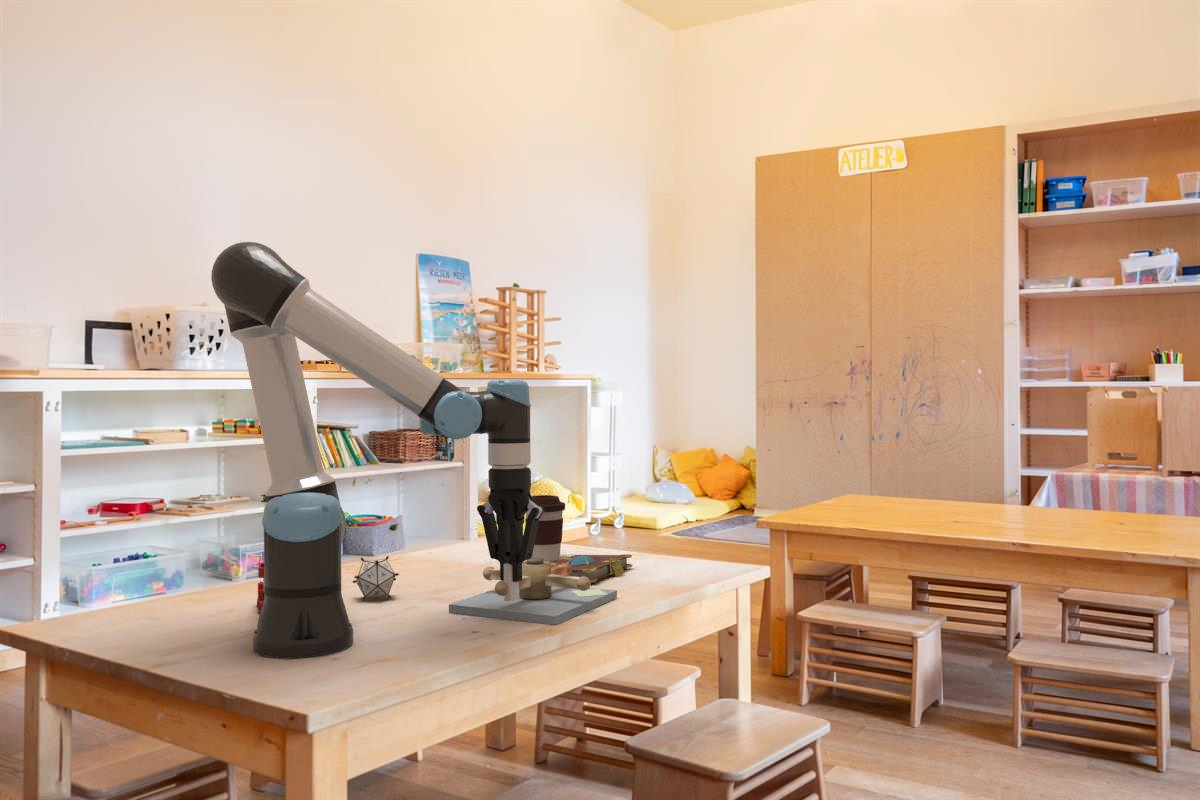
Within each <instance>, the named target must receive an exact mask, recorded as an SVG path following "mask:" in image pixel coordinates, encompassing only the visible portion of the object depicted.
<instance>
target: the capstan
mask: <svg viewBox="0 0 1200 800" xmlns="http://www.w3.org/2000/svg"><path fill="white" fill-rule="evenodd" d="M551 563H552V562H548V561H544V559H543V558H531V559H528V560H525V561H523V563H522V580H521V581H519V596H520V597H521V598H526V599H542V598H548V597H550V596H552V587H551V586H554V587H563V588H572V589H579V590H581V591H586V590H588V589H589V588H591V584H592V583H591V582H590V579H589V578H588V577H585V576H582V577H574V576H568V575H570V574H571V572H572V566H571V565H570V564H569V563H562V564H561V565H558V566H554V567H551ZM482 576H483V578H484V579H485V580H486V581H498V582H497V583H496V584H495V585H494V589H495V592H496V593H497V594H498V595H500V596H504V595H506V594H507V592H508V586H507V584H506V583H505V582H504V581H501V578H500V568H497V567H493V566H487V567H485V568H484V569H483V572H482Z"/></svg>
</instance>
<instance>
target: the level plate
mask: <svg viewBox="0 0 1200 800" xmlns="http://www.w3.org/2000/svg"><path fill="white" fill-rule="evenodd" d="M551 587H552V596H550V597H548V598H542V599H526V598H521V597H520V596H519V599H516V600H513V601H504V596H500V595H498V594H497V593H496V592H495V588H493V589H491V590H487V591H485V592H481V593H478V594H476V595H473V596H470V597H467V598H464V599H461V600H458V601H455V602H452V603H449V604H448V613H449V614H458V615H467V616H473V617H474V616H475V617H481V618H482V617H485V618H490V619H491V618H493V619H500V620H501V619H502V620H509V621H518V622H525V623H526V622H527V623H535V624H544V625H550V626H551V625H553V626H556V625H559V624H561V623H563V622H565V621H568V620H570V619H572V618H575V617H578V616H579V615H581V614H583V613H586V612H588V611H591V610H593V609H595V608H598V607H600V606H602V605H604V604H607V603H609V602H611V601H614V600H616V599H617V598H618V590H615V589H608V588H607V589H606V588H605V589H604V588H597V587H596V588H595V587H590V588H589V589H588V590H586V591H581V590H579V589H572V588H563V587H554V586H551Z"/></svg>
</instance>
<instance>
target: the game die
mask: <svg viewBox="0 0 1200 800" xmlns="http://www.w3.org/2000/svg"><path fill="white" fill-rule="evenodd" d="M389 559H390V558H389V555H387V556H386V557H385V558H384V559H366V560H365V559H364V557H362V556H360V560H361V561H362V563H361V565H360V569H359V571H358V574H357V575H354V579H356V580H352V583H353V584H356V585H357V586H358V588H359V591H360V592H361V593H362V595H363V597H362V599H361V600H362V602H363V601H365V600H366V598H375V597H377V598H378V597H387V599H388V600H391V595H390V592H391V589H392V587H393V583H394V582H396V581H397V578H396V577H397V576H399V575H400V573H399V572H396V573H395V571H394V569H393V567H392V566H391V565H390V563H389V561H388V560H389Z"/></svg>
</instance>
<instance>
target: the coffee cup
mask: <svg viewBox="0 0 1200 800" xmlns="http://www.w3.org/2000/svg"><path fill="white" fill-rule="evenodd" d="M531 496H532V502H533V503H535V504H536V505H537V506H538V507H541V506H542V507H543V508H544V512H543V514H542V516H541V518H540V519H539V524H538V529H537V534H536V539H535V544H534V549H533V554H532V558H543V559H544V561H548V562H551V563H553V562H556V561H559V558H560V557H561V547H562V546H561V545H562V541H563V528H564V525H563V524H564V518H563V512H564V511H565V510H566V502H563V501H561V500H560V497H559V496H557V495H553V494H552V495H551V494H547V495H546V494H545V495H544V494H543V495H542V494H541V495H540V494H539V495H531ZM527 512H528V510H527ZM527 512H526V513H525V518H524V523H525V525H526V520H527V517H528V514H527Z"/></svg>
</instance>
